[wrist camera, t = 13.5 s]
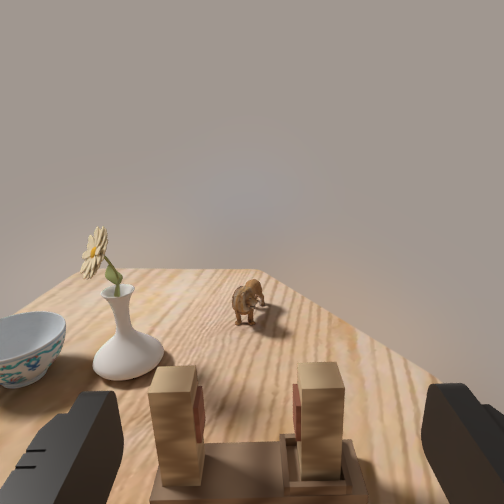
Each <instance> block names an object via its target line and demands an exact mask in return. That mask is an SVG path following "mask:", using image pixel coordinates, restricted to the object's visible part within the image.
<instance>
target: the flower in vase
mask: <svg viewBox="0 0 504 504" xmlns="http://www.w3.org/2000/svg"><path fill="white" fill-rule="evenodd" d="M106 232H107V231H106V229H104V226H103V227H102V229H99V227H98V226H97V228H96V230H95V231H94V238H93V236H92V235H90V236H89V238H88V242H89V243H88V245H87V248H88V249H87V251H85V252H84V253H83V255H82V258H83V259H86V260H85V262H84V263H83V264H82V268H81V270H80V273H83V272H84V275H83V279H85V278H86V279H89V278H90V279H91V278H92V277H93V275H95V274H96V272H97V270H98V269H99V267H100V264H101V262H102V261H103V259H105V260H106V261H107V262H108V264H109V265H108V267H107V269H106V272H105V277H106V278H107V279H108V280H109V281H111V282H112V283H114V284H116V285H113V286H110V287H107V288H105V289H104V290H103V291H102V292H101V296H102V297H104V298H105V299H106V300H107V301H108V302H109V304H110V306H111V308H112V310H113V313H114V317H115V321H116V333H115V335H114V336H113V337H112V338H111V339H109V340H108V341H107V342H106V343H105V344H104V345H103V346H102V347H101V348H100V349H99V350H98V352H97V353H96V354H95V356H94V360H93V370H94V371H95V372H96V373H97V374H98V375H99V376H101V377H103V378H105V379H108V380H128V379H132V378H136V377H139V376H141V375H144V374H146V373H148V372H149V371H151V370H152V369H154V368H155V367H156V366H157V365H158V364H159V362H160V361H161V359H162V357H163V355H164V348H163V346H162V345H161V343H160V342H159V341H158V340H157V339H156V338H154V337H152V336H150V335H148V334H145V333H142V332H138V331H136V330H134V329H133V327H132V325H131V321H130V315H129V301H130V297H131V295H132V293H133V291H134V286H132V285H129V284H120V283H121V281H122V279H123V277H122V275H121V274H120V273H119V272H118V271H116V269H115V268H114V266H113V265H112V264H111V262H110V261H109V260H108V258H107V257H106V256H105V252H106V247H107V244H108V239H107V233H106Z"/></svg>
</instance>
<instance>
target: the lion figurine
mask: <svg viewBox="0 0 504 504" xmlns="http://www.w3.org/2000/svg"><path fill="white" fill-rule="evenodd" d="M255 294H256V296H255ZM257 297H259V298H260V299H261V300H260V303H259V305H260V306H264V305H265V303H264V296H263V294H262V288H261V284H260V282H259V281H257V280H256V279H253V280H250V281H248V282H247V283H246V285H245V286H240V287H239V288H237V289H236V290H235V292H234V294H233V297H232V298H233V299H232V307H233V309H234V310H235V314H236V318H237V321H236V322H235V324H236V325H241V322H242V321H241V315H246V314H248V323H249V325H253V324H255V322H254V320H253V311H254V310H253V309H254V308H255V305H256V304H257V303H258V300H257ZM240 314H241V315H240Z"/></svg>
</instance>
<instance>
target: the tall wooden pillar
mask: <svg viewBox="0 0 504 504" xmlns="http://www.w3.org/2000/svg"><path fill="white" fill-rule="evenodd" d="M344 396H345V387H344V384H343V381H342V378H341V375H340V372H339V369H338V366H337V363H336V362H313V363H297V384H293V422H294V430H295V437H296V441H297V455H298V463H299V470H300V478H301V482H302V481H339V480H340V473H341V454H342V434H343V415H344Z"/></svg>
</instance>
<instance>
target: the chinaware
mask: <svg viewBox="0 0 504 504" xmlns="http://www.w3.org/2000/svg"><path fill="white" fill-rule="evenodd" d="M65 333H66V322H65V319H64V318H63V317H62V316H61V315H59V314H57V313H53V312H46V311H36V312H26V313H20V314H16V315H11V316H8V317H4V318H1V319H0V385H2V386H3V387H6V388H20V387H24V386H27V385H30V384H32V383H34V382H36V381H38V380H39V379H41V378H42V377H43V376H44V375H45V374H46V372H47V369H48V367H49V366H50V365H51V364H52V363H53V362H54V361H55V359H56V358H57V356H58V355H59V353H60V351H61V349H62V347H63V343H64V340H65Z"/></svg>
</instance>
